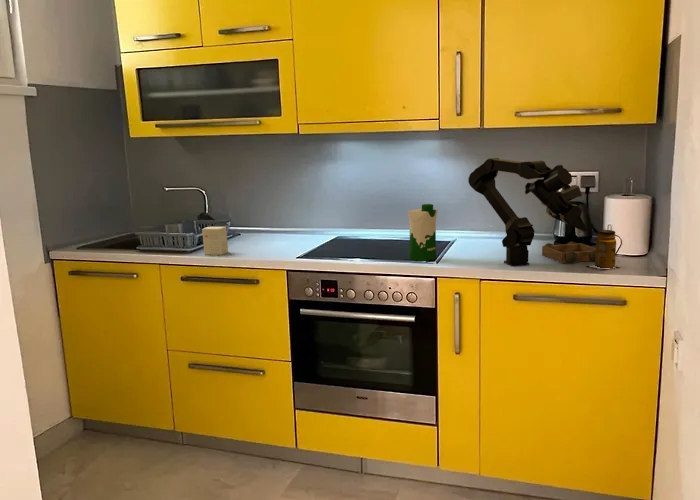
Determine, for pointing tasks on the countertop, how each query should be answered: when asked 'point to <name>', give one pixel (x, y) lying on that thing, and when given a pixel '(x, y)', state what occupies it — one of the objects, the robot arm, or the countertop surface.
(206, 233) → the small box
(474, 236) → the countertop surface
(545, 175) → the robot arm
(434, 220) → the milk carton
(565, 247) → the chassis bay
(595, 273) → the countertop surface
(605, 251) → the condiment
